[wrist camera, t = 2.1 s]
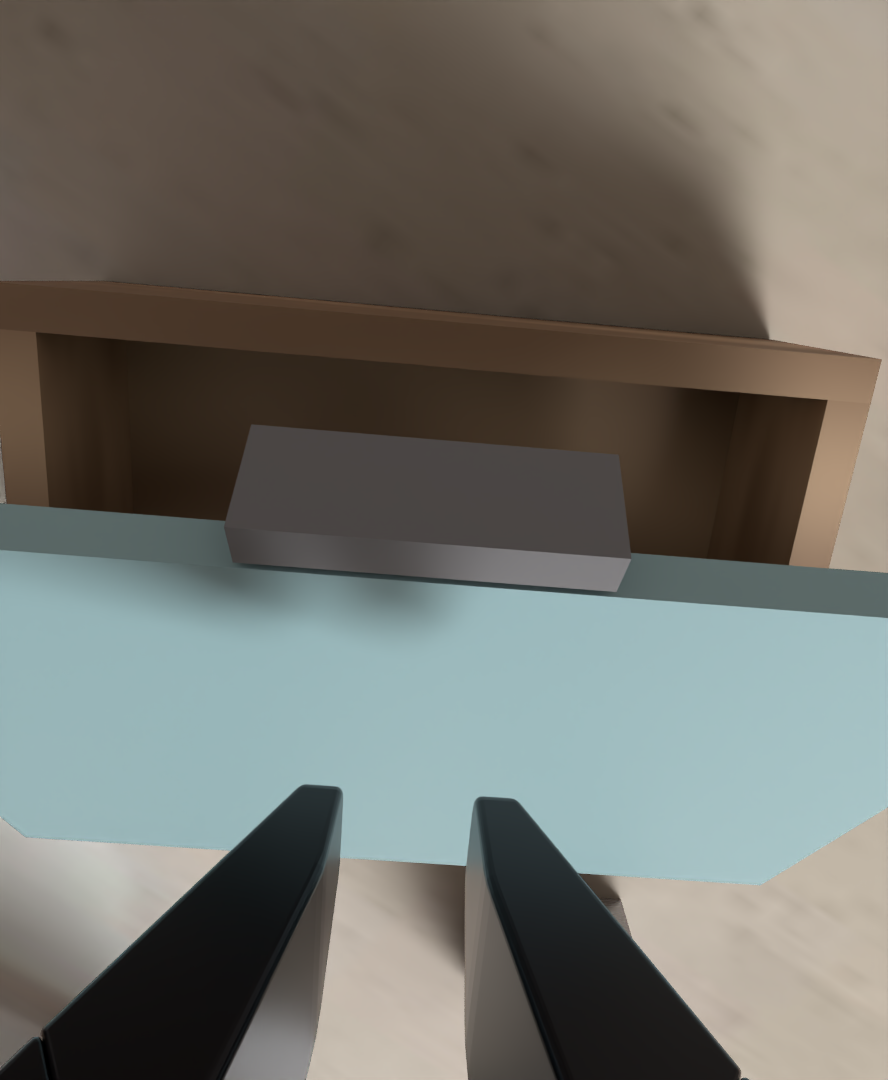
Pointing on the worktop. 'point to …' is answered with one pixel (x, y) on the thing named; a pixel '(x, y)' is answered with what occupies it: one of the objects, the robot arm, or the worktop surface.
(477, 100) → the worktop surface
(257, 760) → the lid
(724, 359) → the box
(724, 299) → the worktop surface
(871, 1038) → the worktop surface
